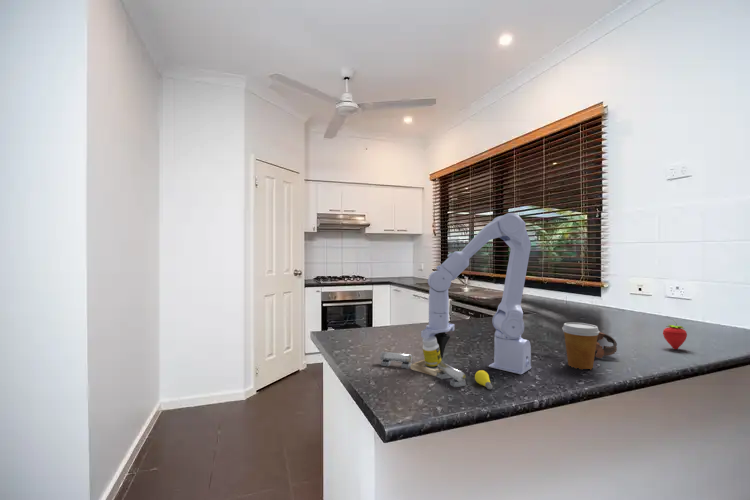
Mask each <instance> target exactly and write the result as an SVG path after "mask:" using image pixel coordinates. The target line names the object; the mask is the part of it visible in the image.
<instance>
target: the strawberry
mask: <svg viewBox="0 0 750 500" xmlns="http://www.w3.org/2000/svg"><path fill="white" fill-rule="evenodd" d="M672 321H674V323H675V325H673V324H668V325H666V326H665V328H664V329H663V331H662V335H663V338H664V339H665V341H666V342H667V343H668V345H670V346H671V348H672V349H673V350H678V349H679V348H680V347H681V346H682V345H683V344H684V342H686V339H687V336H688V334H687V333H688V332H687V331H686V330H685V327H684V326H682V325H677V324H678V323H677V322H676V321H675V320H672Z"/></svg>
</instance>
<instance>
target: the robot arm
mask: <svg viewBox="0 0 750 500" xmlns="http://www.w3.org/2000/svg"><path fill="white" fill-rule="evenodd" d="M526 223H527V222H525V221H524V219H522V218H521V216H520V215H518V214H516V213H515V212H507V213H505V214H504V215H500V216H496V217H495V218H493V219H492V221H490V222H488V223H487V224H486V225H484V227H482V228H481V230H479V231H478V233H477V234H475V236H474V237H473V238H472V239H471V240H470V241H469V242H468V243H467V244H466V245H465V246H464V248H462V250H460V251H458V250H457V251H456V250H454V252H453V253H452V252H450V253H448V254H447V258H446V259H445V260H444V261H443V262H442V263H441V264H440V265H437V266H435V268H436V270H435V271H432V272H431V273H429V276H428V279H427V284H428V286H429V290H428V293H429V295H428V325H425V328H424V329H423V330H421V331H420V332H421V333H420V334H421V335H420V336H421V339H423V338H429V337H431V336H435V337H436V339H437V343H438V344H439V348H440V354H441V360H443V357H444V354H445V349H446V346H447V343H448V342H449V340H450V338H451V335H450V334H449V333H448V332H454V331H455V324H454V323H449V320H450V318H449V317H450V316H449V315H450V314H449V313H450V309H449V308H450V307H449V306H450V304H449V303H450V302H449V301H450V299H449V289H450V288H451V286H452V281H455V280H456V279H457V277H459V275H460V274H462V273H463V272H464V271H465V270H466V268H468V267H469V266H470V258H472V257H473V256H474V255H475V254H477V252H478V251H480V250H481V248H482V247H484V246H485V245H486V244H487V243H489V241H492V240H494V239H501V240H503V241H504V243H505V244H506V245H507V246H508V247H509V248H510V251H509V259H508V263H507V267H506V274H505V280H504V285H503V286H504V287H503V291H502V296H501V302H500V303H499V304H498V306H497V310H496V312H495V313H494V315H493V316H492V319H491V320H492V321H491V322H492V326H493V328H494V329H495V332H494V337H493V338H494V344H493V345H494V348H493V349H494V350H493V351H494V352H493V353H494V355H493V357H494V361H493V362H492V363H490V364H489V365H488V368H492V369H495V370H500V371H501V370H502V371H506V372H509V373H514V374H517V375H523V374H524V373H526V372H528V371H529V370H530V369H532V366H531V365H532V362H531V361H532V358H531V357H532V354H531V353H532V351H531V350H532V349H531V348H532V347H531V342H530V340H529V339H524V338H523V337H522V335H523V334H524V331H525V323H524V318H523V317H524V312H523V309H522V305H521V304H522V300H523V294H524V287H525V282H526V277H527V276H526V275H527V269H528V265H529V260H530V259H529V258H530V255H531V248H532V243H531V239H530V237H529V235H528V234H529V233H528V232H527V228H526Z"/></svg>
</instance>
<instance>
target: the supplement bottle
mask: <svg viewBox="0 0 750 500" xmlns="http://www.w3.org/2000/svg"><path fill="white" fill-rule="evenodd" d="M421 339H422V340H421V341H422V344H423V345H422V352H423V353H422V354H423V357H424V359H425V364H426V365H425V367H427V368H430V369H434V370H435V369H437V366H438V364H439V363H440V362H443V361H442V360H443V359H442V360H441V354H440V348H439V344H438V343H437V339H436V337H435V336H431V337H429V338H421ZM424 359H423V360H424Z"/></svg>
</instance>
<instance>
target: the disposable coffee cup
mask: <svg viewBox="0 0 750 500" xmlns="http://www.w3.org/2000/svg"><path fill="white" fill-rule="evenodd" d="M561 329H562V331H563V335H564V341H565V342H564V343H565V352H566V357H567V365H568V366H569V367H570V366H571V367H570V368H573V367H574V368H573V369H577V368H579V369H578V370H583V369H590V370H593V369H592V368H594V363H595V357H596V351H595V350H596V343H597V336H598V334H599V333H601V331H600V330H599V327H598V325H595V324H590V323H584V322H565V323H563V326H562V327H561Z"/></svg>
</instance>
